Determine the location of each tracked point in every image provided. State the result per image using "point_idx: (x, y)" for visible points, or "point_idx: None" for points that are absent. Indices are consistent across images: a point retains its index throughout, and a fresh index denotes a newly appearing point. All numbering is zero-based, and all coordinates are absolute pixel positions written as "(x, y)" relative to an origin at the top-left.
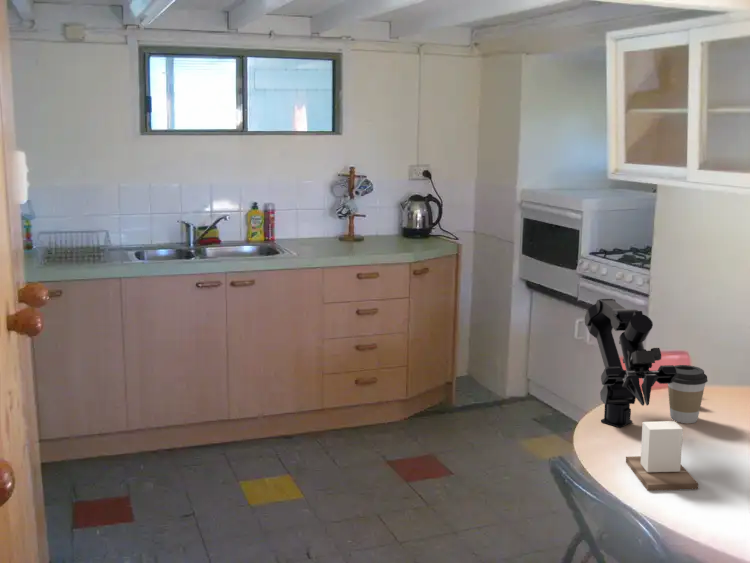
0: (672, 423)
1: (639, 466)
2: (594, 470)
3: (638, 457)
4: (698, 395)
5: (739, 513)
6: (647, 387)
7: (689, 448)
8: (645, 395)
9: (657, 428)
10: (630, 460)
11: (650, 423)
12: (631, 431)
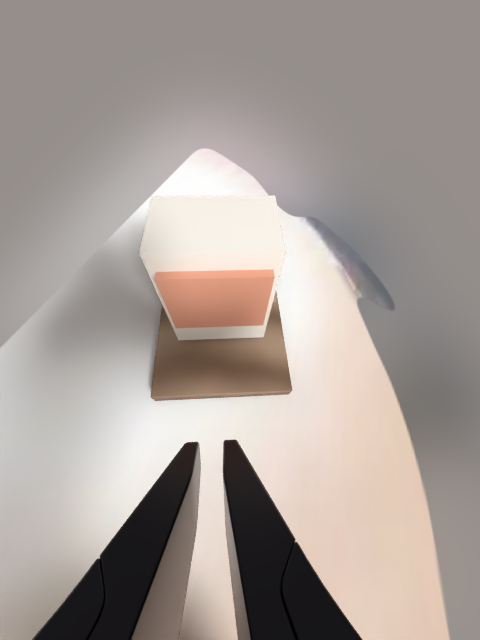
0: (164, 233)
1: (267, 329)
2: (370, 347)
3: (257, 383)
4: None
5: (148, 204)
6: (111, 635)
7: (38, 515)
8: (180, 552)
9: (243, 201)
10: (283, 363)
11: (256, 237)
12: None
